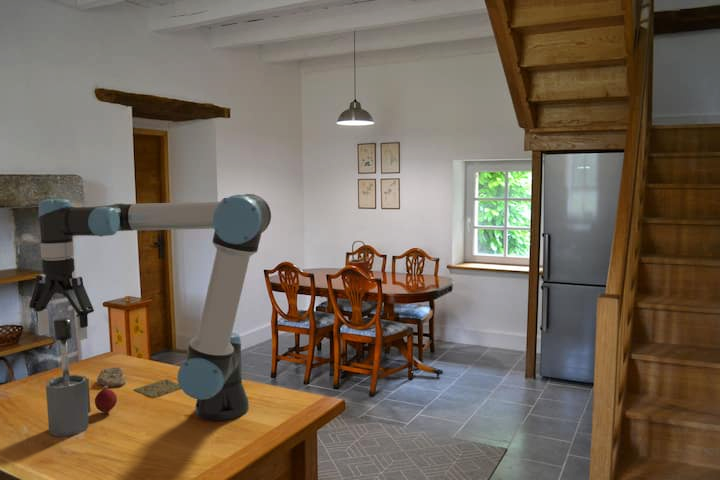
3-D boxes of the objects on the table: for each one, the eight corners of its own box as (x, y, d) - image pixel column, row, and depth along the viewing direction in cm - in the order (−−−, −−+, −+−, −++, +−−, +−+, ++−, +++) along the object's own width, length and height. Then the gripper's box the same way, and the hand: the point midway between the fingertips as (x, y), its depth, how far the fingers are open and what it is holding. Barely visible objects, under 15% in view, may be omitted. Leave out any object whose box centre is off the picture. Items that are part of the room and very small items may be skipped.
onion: (109, 417, 162) (107, 390, 162) (91, 416, 164) (89, 389, 163) (121, 409, 168) (120, 383, 167) (104, 408, 169) (102, 382, 168)
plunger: (85, 385, 156) (81, 318, 154) (65, 393, 150) (60, 324, 148) (67, 382, 158) (63, 316, 156) (47, 390, 152) (42, 321, 150)
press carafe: (101, 421, 160) (98, 375, 158) (68, 439, 149) (64, 389, 148) (76, 416, 163) (73, 371, 162) (41, 433, 153) (38, 384, 151)
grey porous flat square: (165, 380, 193) (165, 377, 193) (186, 388, 186) (186, 385, 185) (132, 391, 184) (132, 388, 184) (153, 400, 176) (153, 397, 176)
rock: (94, 382, 191) (97, 386, 183) (97, 364, 192) (101, 367, 184) (121, 384, 195) (126, 388, 187) (124, 366, 196) (129, 369, 188)
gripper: (105, 258, 149) (109, 337, 152) (36, 253, 158) (41, 328, 160) (82, 262, 142) (87, 345, 145) (10, 257, 151) (16, 335, 154)
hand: (62, 336), depth 153 cm, fingers open, 13 cm apart
